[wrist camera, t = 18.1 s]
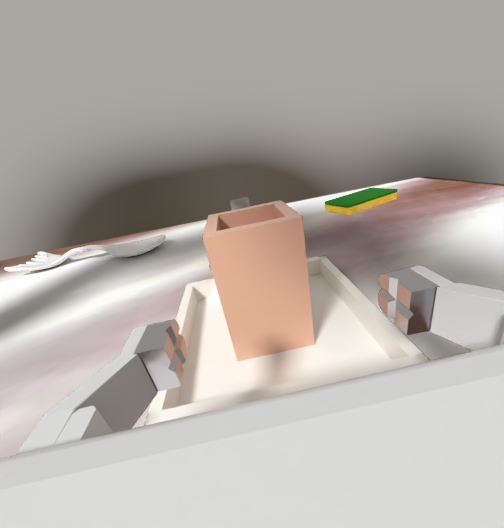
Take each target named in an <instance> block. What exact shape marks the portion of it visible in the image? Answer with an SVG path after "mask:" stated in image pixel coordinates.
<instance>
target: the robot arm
mask: <svg viewBox="0 0 504 528" xmlns="http://www.w3.org/2000/svg"><path fill="white" fill-rule="evenodd" d="M379 285H380V286H381V287H382V289H381V290H380V292H379V293H378V302H379V305H380V308H381V309H382V311H383V312H384V313H385V314H386V315H387V316H388V317H391V318H394V319H395V324H396V325H397V326H398V327H399V328H400V329H401V330H402V331H403V332H404V333H405V334H406V335H410V334H415V333H420V332H426V331H430V332H432V333H434V334H436V335H439V336H441V337H443V338H445V339H447V340H450V341H452V342H454V343H456V344H459V345H461V346H463V347H465V348H467V349H470V350H472V352H467V353H463V354H459V355H454V356H450V357H445V358H441V359H436V360H432V361H428V362H423V363H419V364H414V365H410V366H405V367H401V368H396V369H392V370H388V371H383V372H379V373H374V374H370V375H365V376H361V377H357V378H352V379H348V380H343V381H339V382H335V383H330V384H326V385H321V386H317V387H313V388H308V389H304V390H300V391H295V392H291V393H286V394H282V395H278V396H273V397H269V398H265V399H260V400H256V401H251V402H247V403H243V404H238V405H234V406H229V407H225V408H221V409H216V410H212V411H207V412H203V413H199V414H194V415H190V416H185V417H181V418H177V419H172V420H168V421H163V422H159V423H155V424H150V425H146V426H141V427H137V428H133V429H131V428H132V427H133V426H134V424H135V423H136V422H137V420H138V419H139V418H140V416H141V415H142V414H143V412H144V411H145V410H146V408H147V407H148V406H149V404H150V403H151V402H152V400H153V399H154V397H155V396H156V395H157V393H158V392H159V391H163V390H167V389H171V388H175V387H178V386H181V383H182V378H183V373H184V369H183V367H182V365H183V364H184V363H185V361H186V357H187V347H186V343H185V340H184V337H183V336H181V335H180V334H178V333H179V329H180V327H179V325H178V323H177V321H176V320H175V319H173V320H168V321H163V322H158V323H153V324H149V325H143V326H139V327H136V328H134V329H133V331H132V333H131V335H130V337H129V339H128V340H127V342H126V344H125V346H124V348H123V350H122V352H121V353H120V355H119V357H118V358H116V359H113V360H112V361H111V362H109V363H108V364H107V365H106V366H104V367H103V368H102V369H101V370H99V371H98V372H97V373H96V374H94V375H93V376H92V377H91V378H89V379H88V380H87V381H86V382H84V383H83V384H82V385H81V386H79V387H78V388H77V389H76V390H75V391H73V392H72V393H71V394H70V395H68V396H67V397H66V398H65V399H63V400H62V401H61V402H60V403H58V404H57V405H56V406H55V407H53V408H52V409H51V410H50V411H48V412H47V413H46V414H45V415H43V417H42V418H41V420H40V421H39V422H38V424H37V425H36V427H35V428H34V429H33V431H32V432H31V434H30V435H29V437H28V438H27V439H26V441H25V442H24V444H23V445H22V446H21V448H20V449H19V451H18V452H17V454H16V455H13V456H9V457H5V458H0V528H504V291H502V290H497V289H492V288H486V287H481V286H476V285H470V284H465V283H454V282H452V281H450V280H448V279H446V278H445V277H443V276H441V275H439V274H437V273H435V272H433V271H432V270H430V269H428V268H426V267H424V266H421V265H417V266H413V267H409V268H405V269H401V270H397V271H393V272H389V273H385V274H381V275H380V277H379Z"/></svg>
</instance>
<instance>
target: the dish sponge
mask: <svg viewBox="0 0 504 528" xmlns="http://www.w3.org/2000/svg"><path fill="white" fill-rule="evenodd" d="M395 199H397V189H383V188H369V189H365V190H362V191H359V192H356V193H352V194H349V195H346V196H343V197H339V198H336V199H333V200H329V201H326V202H325V204H326V205H325V211H328V212H334V213H339V214H344V215H351V214H354V213H357V212H360V211H362V210H365V209H368V208H371V207H374V206H377V205H380V204H383V203H386V202H389V201H392V200H395Z"/></svg>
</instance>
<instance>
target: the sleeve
mask: <svg viewBox="0 0 504 528" xmlns="http://www.w3.org/2000/svg"><path fill="white" fill-rule="evenodd" d="M203 242H204V245H205V249H206V252H207V256H208V259H209V263H210V266H211V270H212V273H213V277H214V280H215V284H216V287H217V291H218V294H219V298H220V301H221V305H222V309H223V312H224V316H225V319H226V323H227V326H228V330H229V333H230V337H231V340H232V344H233V347H234V351H235V354H236V358H237V361H243V360H247V359H252V358H256V357H261V356H265V355H270V354H275V353H279V352H284V351H288V350H293V349H297V348H302V347H307V346H311V345H315V342H314V332H313V321H312V311H311V300H310V290H309V280H308V269H307V259H306V248H305V238H304V227H303V217H302V216H301V215H299V214H298V213H297V212H295V211H294V210H293V209H292V208H290V207H289V206H288V205H286V204H285V203H283V202H282V201H281V200H280V201H275V202H270V203H265V204H261V205H256V206H251V207H246V208H241V209H236V210H232V211H227V212H223V213H218V214H213V215H209V216H208V219H207V223H206V227H205V230H204V234H203Z"/></svg>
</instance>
